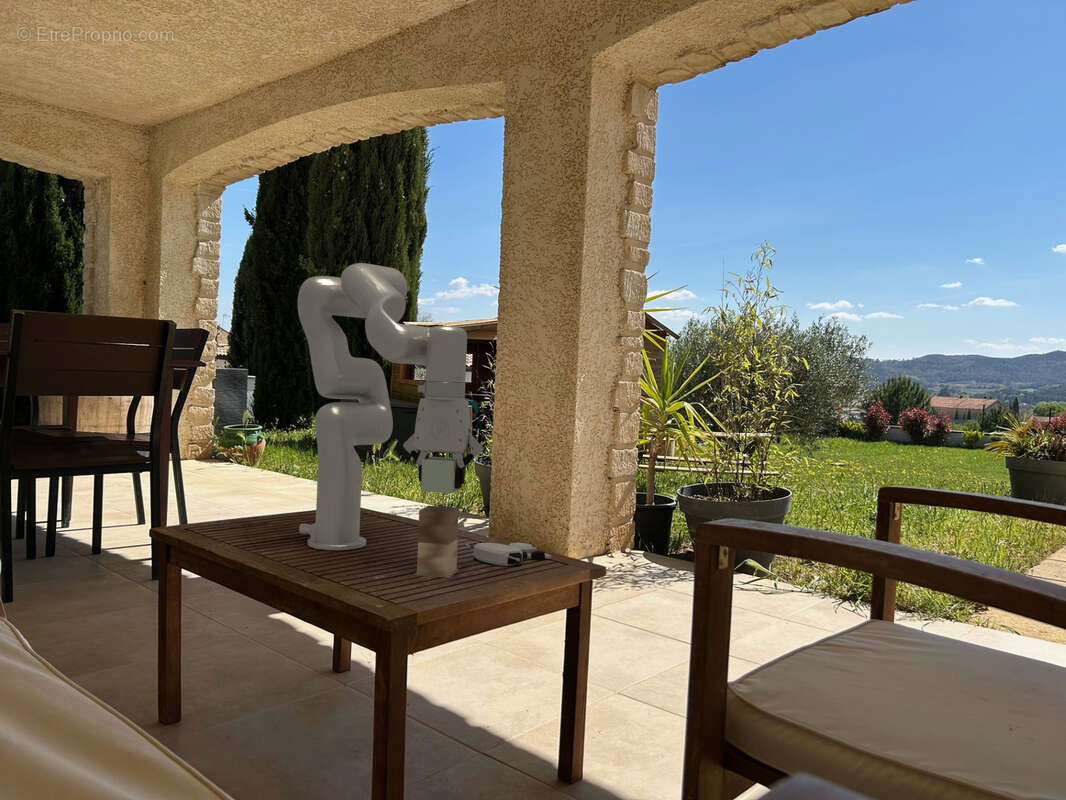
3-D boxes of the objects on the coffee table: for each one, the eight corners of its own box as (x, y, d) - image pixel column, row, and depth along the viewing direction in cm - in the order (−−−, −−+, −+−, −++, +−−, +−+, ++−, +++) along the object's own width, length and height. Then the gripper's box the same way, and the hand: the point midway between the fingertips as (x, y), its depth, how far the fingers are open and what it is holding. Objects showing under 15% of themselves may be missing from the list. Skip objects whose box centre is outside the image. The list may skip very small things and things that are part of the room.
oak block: (416, 574, 149) (418, 542, 149) (426, 566, 155) (427, 536, 154) (447, 576, 148) (449, 544, 148) (456, 569, 154) (457, 538, 153)
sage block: (420, 491, 148) (422, 459, 148) (430, 487, 154) (431, 456, 154) (452, 493, 147) (453, 461, 147) (460, 489, 153) (461, 458, 153)
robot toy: (513, 559, 175) (461, 562, 164) (515, 538, 175) (463, 540, 164) (554, 570, 166) (501, 574, 156) (556, 548, 166) (504, 551, 156)
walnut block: (417, 542, 149) (419, 510, 148) (427, 536, 154) (428, 505, 154) (448, 544, 148) (450, 512, 147) (457, 538, 153) (458, 507, 153)
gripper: (394, 390, 148) (391, 486, 148) (484, 394, 145) (480, 492, 145) (407, 390, 156) (404, 482, 156) (493, 393, 153) (490, 487, 153)
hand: (441, 486), depth 151 cm, fingers closed on sage block, 6 cm apart
